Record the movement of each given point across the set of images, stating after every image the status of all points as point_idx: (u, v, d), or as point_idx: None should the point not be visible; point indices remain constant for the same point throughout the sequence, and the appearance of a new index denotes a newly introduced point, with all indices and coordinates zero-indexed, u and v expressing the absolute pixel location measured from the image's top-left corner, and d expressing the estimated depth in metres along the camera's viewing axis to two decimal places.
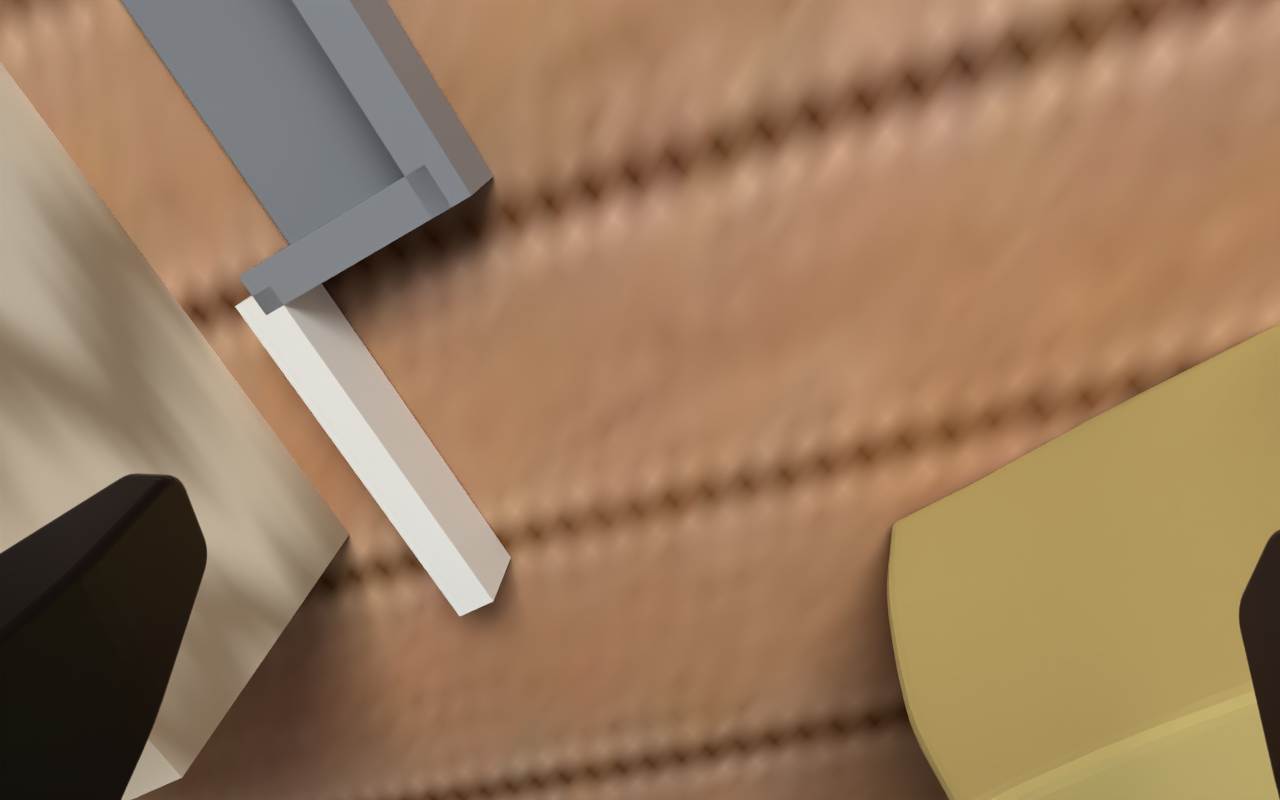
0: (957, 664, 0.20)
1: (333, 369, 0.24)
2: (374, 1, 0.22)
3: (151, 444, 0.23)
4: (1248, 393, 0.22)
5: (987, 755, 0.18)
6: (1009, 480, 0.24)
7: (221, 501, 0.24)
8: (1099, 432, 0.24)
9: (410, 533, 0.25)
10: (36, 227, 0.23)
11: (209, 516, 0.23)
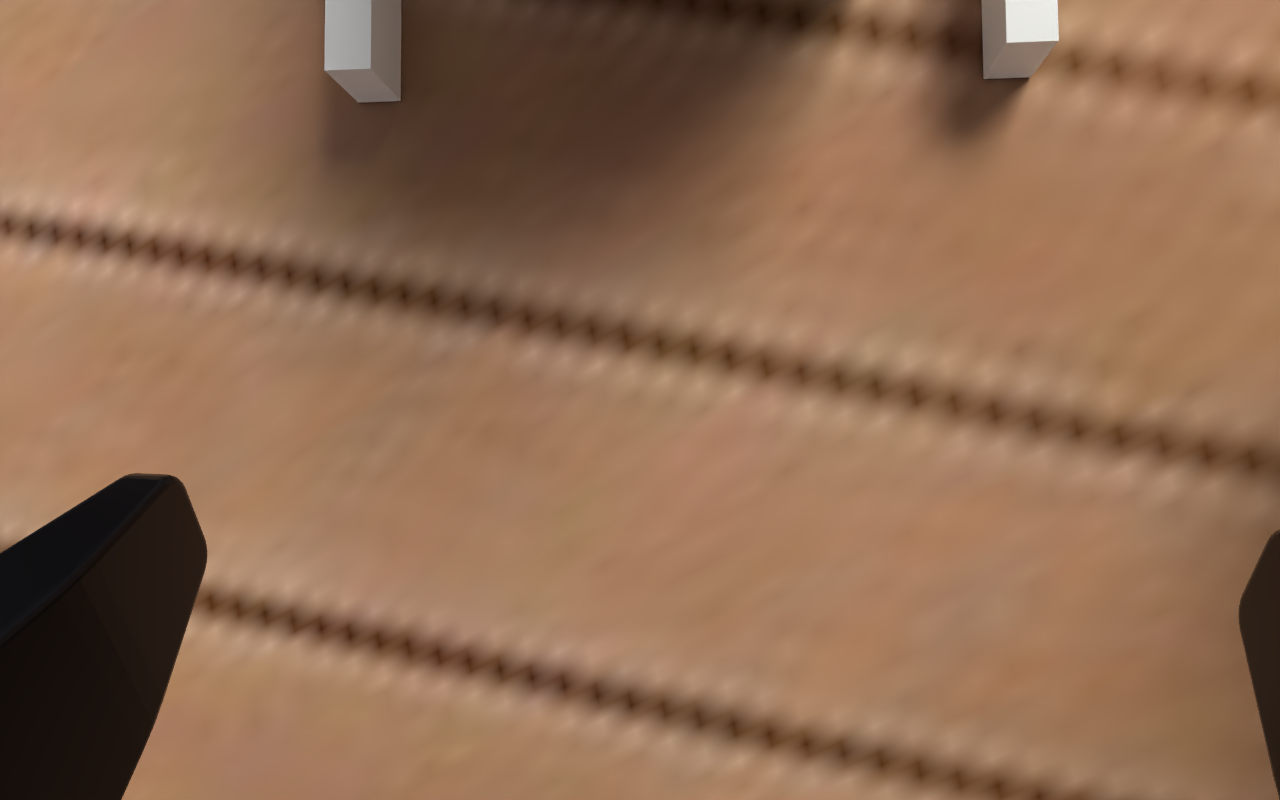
0: None
1: None
2: None
3: None
4: None
5: None
6: None
7: None
8: None
9: None
10: None
11: None
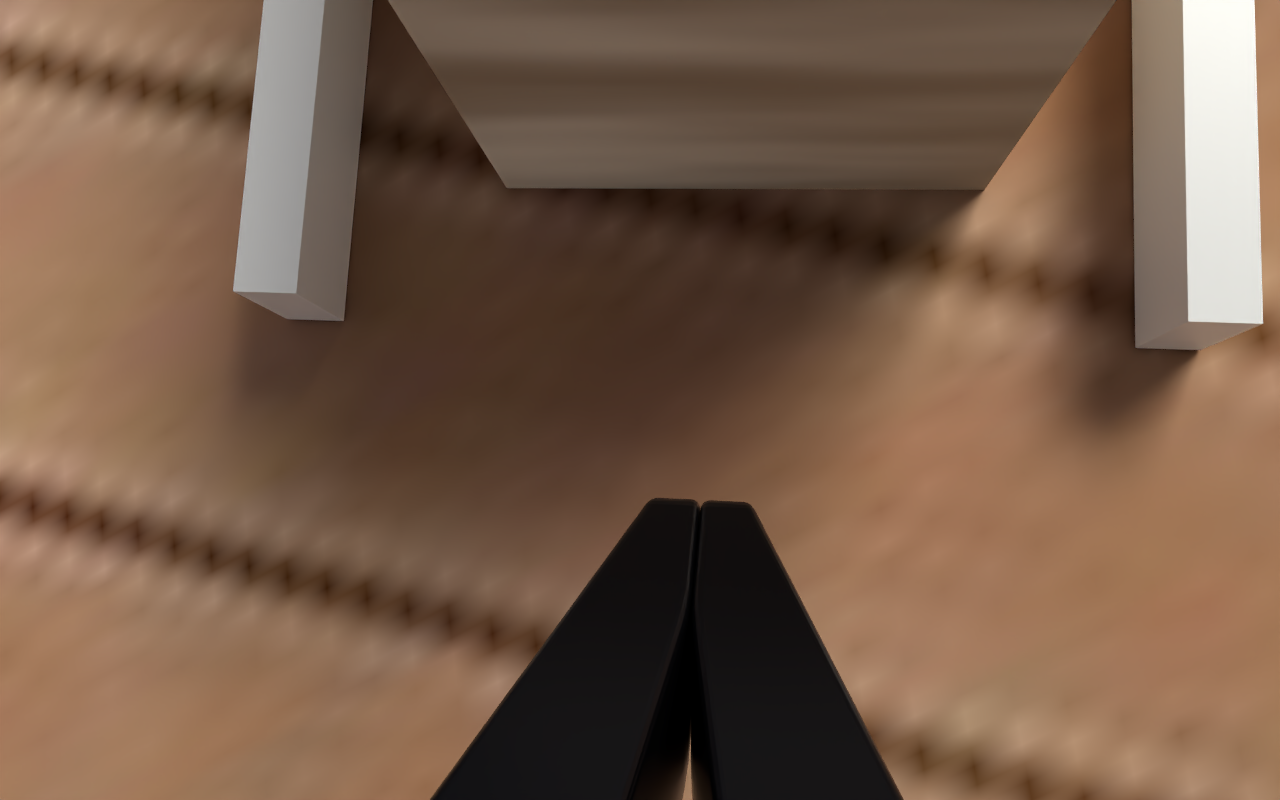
0: None
1: None
2: None
3: None
4: None
5: None
6: None
7: None
8: None
9: (1201, 152, 0.15)
10: None
11: None
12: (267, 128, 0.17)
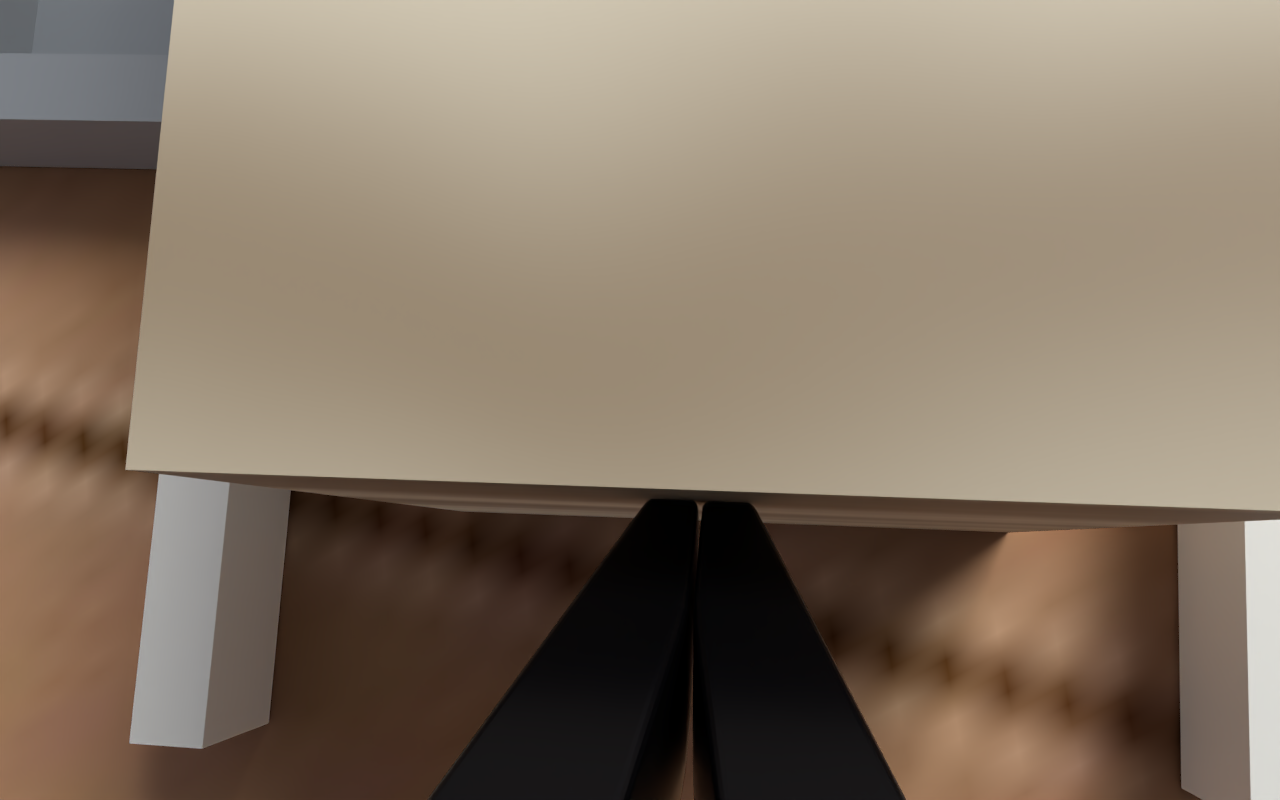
0: None
1: None
2: None
3: None
4: None
5: None
6: None
7: None
8: None
9: (1265, 614, 0.13)
10: None
11: None
12: (171, 543, 0.14)
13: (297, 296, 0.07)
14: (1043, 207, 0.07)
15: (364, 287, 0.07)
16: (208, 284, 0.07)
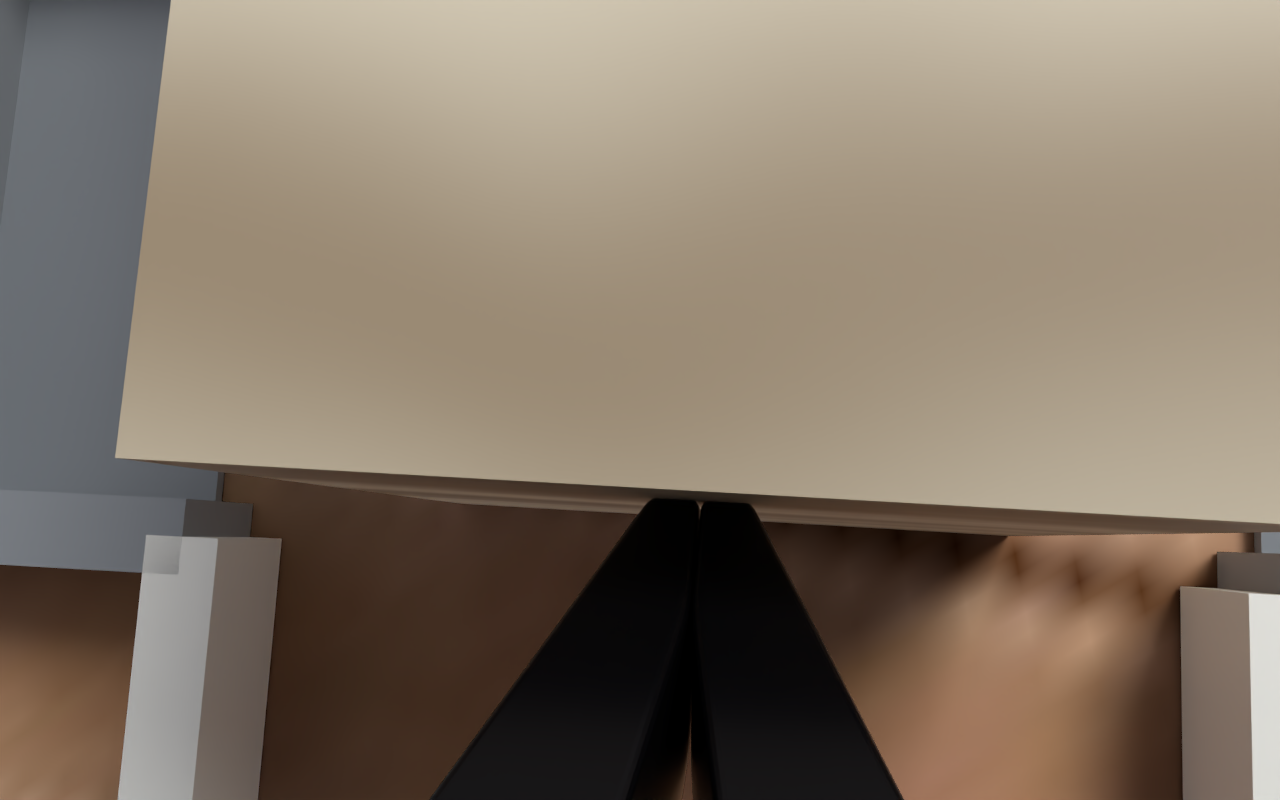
0: None
1: None
2: None
3: None
4: None
5: None
6: None
7: None
8: None
9: None
10: None
11: None
12: None
13: (292, 286, 0.07)
14: (1052, 210, 0.07)
15: (361, 278, 0.07)
16: (202, 271, 0.07)
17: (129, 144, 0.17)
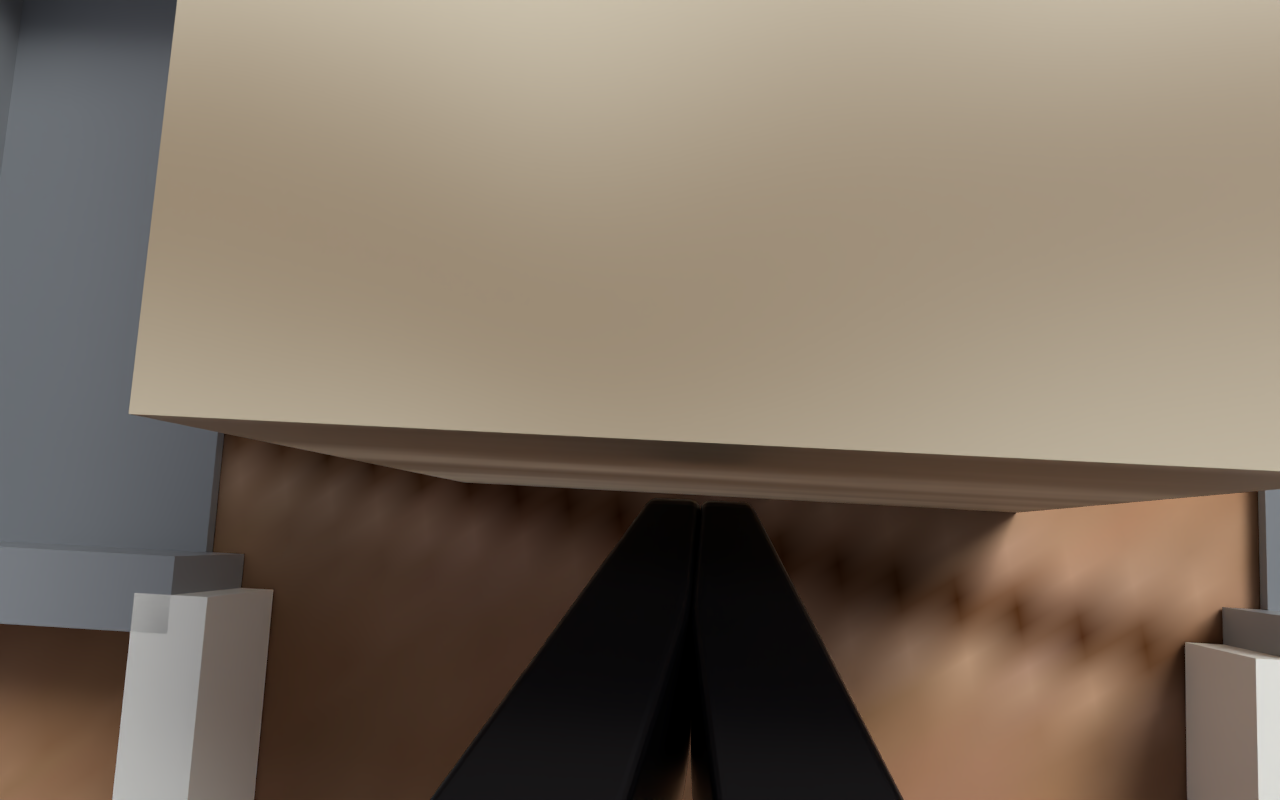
0: None
1: None
2: None
3: None
4: None
5: None
6: None
7: None
8: None
9: None
10: None
11: None
12: None
13: (304, 242, 0.07)
14: (1065, 161, 0.07)
15: (373, 234, 0.07)
16: (215, 228, 0.07)
17: (119, 187, 0.17)
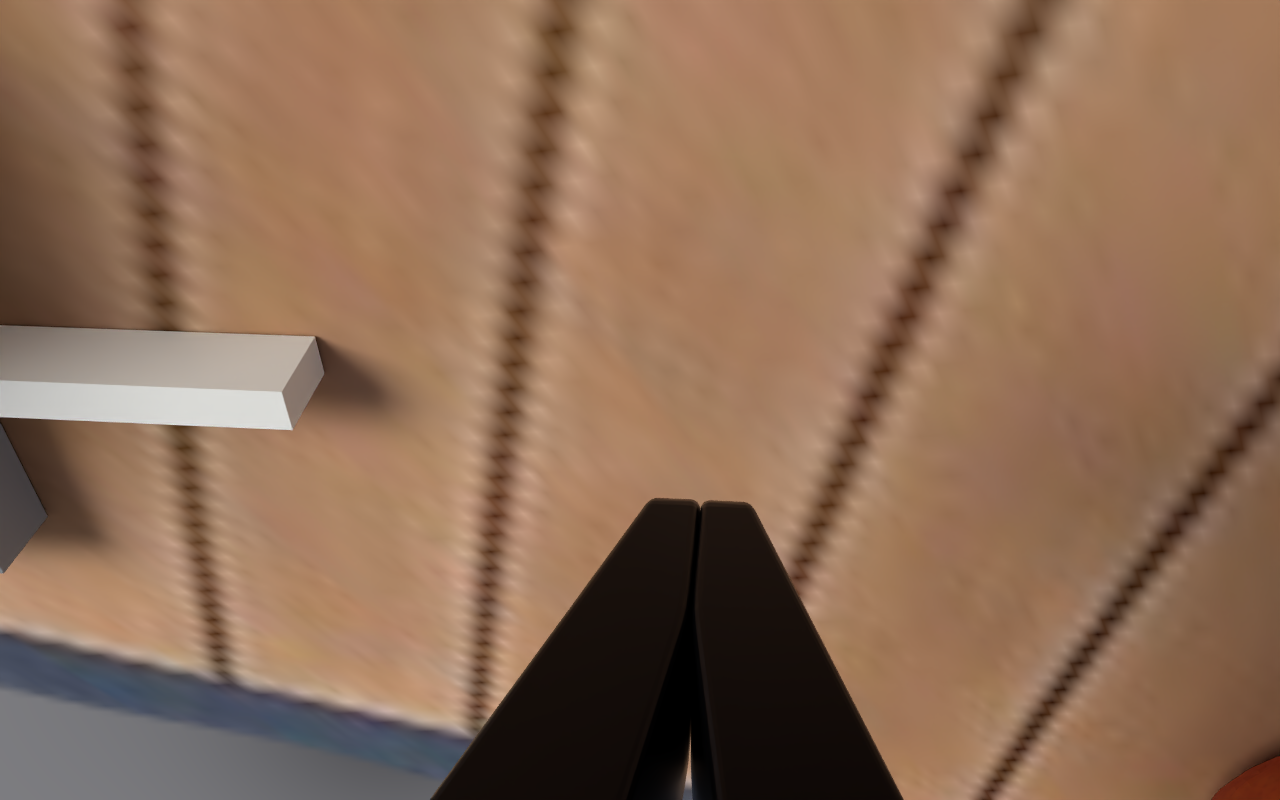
0: None
1: None
2: None
3: None
4: None
5: None
6: None
7: None
8: None
9: None
10: None
11: None
12: (169, 414, 0.22)
13: None
14: None
15: None
16: None
17: None
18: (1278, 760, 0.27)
